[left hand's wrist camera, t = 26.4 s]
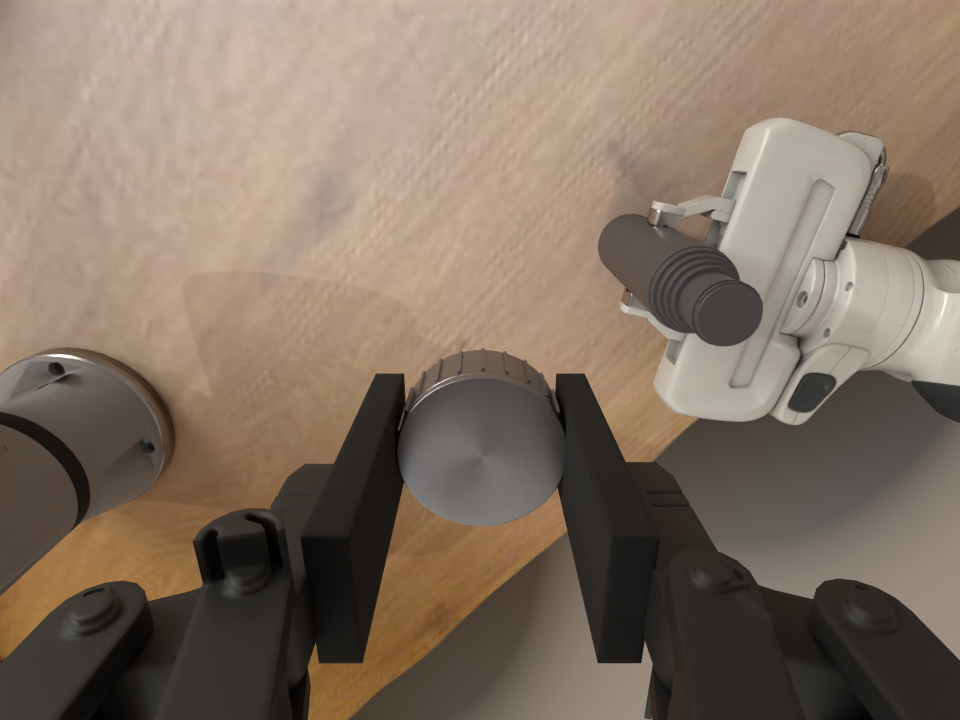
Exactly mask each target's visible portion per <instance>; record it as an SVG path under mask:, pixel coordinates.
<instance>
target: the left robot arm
mask: <svg viewBox="0 0 960 720" xmlns="http://www.w3.org/2000/svg"><path fill="white" fill-rule="evenodd" d="M555 395H556V398H557V401H558V405H559V408H560V411H561V415H560V417H561V420H562V424H563V427H564V430H565V434H566V438H565V454H564V469H563V477H562V479H561V481H560V483H559V485H558V486H557V487H558V491H559V496H560V500H561V504H562V509H563V513H564V517H565V522H566V526H567V531H568V535H569V539H570V544H571V548H572V552H573V557H574V561H575V565H576V570H577V574H578V579H579V583H580V587H581V592H582V596H583V600H584V605H585V609H586V613H587V618H588V622H589V627H590V631H591V635H592V640H593V644H594V648H595V653H596V657H597V661H598V663H641V661H642V654H643V648H644V641H645V642H646V645H647V648H648V651H649V654H650V657H651V660H652V663H653V667H652V673H651V679H650V685H649V691H648V697H647V703H646V710H645V717H644V718H646V719H651V717H652V720H960V660H959V659H958V658H957V657H956V656H955V655H954V654H953V653H952V652H951V651H950V650H949V649H948V648H947V647H946V646H945V645H944V644H943V643H942V642H941V641H940V640H939V639H938V638H937V637H936V636H935V635H934V634H933V633H932V631H931V630H930V629H929V628H928V627H927V626H926V625H925V624H924V623H923V622H922V621H921V620H920V619H919V618H918V617H917V616H916V615H915V614H914V613H913V612H912V611H911V610H910V609H908V608H907V607H906V606H905V605H904V604H902V603H901V602H900V601H899V600H897V599H896V598H895V597H893V596H891V595H889V594H887V593H886V592H884V591H882V590H880V589H878V588H876V587H873V586H870V585H867V584H865V583H862V582H859V581H855V580H846V579H833V580H829V581H824V582H823V583H822V584H821V585H820V586H819V587H818V588H817V589H816V592H815V595H814V599H809V598H805V597H801V596H796V595H792V594H788V593H784V592H780V591H775V590H772V589H769V588H766V587H763V586H760V585H758V584H757V582H756V581H755V579H754V578H753V576H752V574H751V573H750V571H749V570H748V569H746V568H745V567H744V566H743V565H742V564H740V563H739V562H738V561H737V560H735V559H733V558H731V557H729V556H727V555H725V554H723V553H721V552H718V551H717V549H716V548H715V546H714V544H713V543H712V541H711V539H710V537H709V536H708V534H707V533H706V531H705V529H704V527H703V526H702V524H701V522H700V521H699V519H698V517H697V516H696V514H695V512H694V510H693V509H692V507H690V505H689V502H688V500H687V499H686V497H685V495H684V494H682V490H681V488H680V487H679V485H678V483H677V482H676V480H675V478H674V477H673V475H671V474H670V473H669V472H668V471H666V470H665V469H664V468H662V467H661V466H660V465H658V464H657V463H656V462H625V460H624V458H623V456H622V453H621V451H620V449H619V447H618V445H617V443H616V441H615V438H614V436H613V434H612V432H611V430H610V428H609V426H608V423H607V421H606V419H605V417H604V415H603V413H602V411H601V408H600V406H599V404H598V402H597V400H596V398H595V395H594V393H593V391H592V389H591V387H590V385H589V383H588V380H587V378H586V376H585V374H556V389H555ZM404 406H406V401H405V383H404V374H376V375H375V377H374V379H373V381H372V383H371V386H370V388H369V390H368V392H367V394H366V396H365V398H364V401H363V403H362V405H361V407H360V409H359V411H358V413H357V416H356V418H355V420H354V422H353V424H352V426H351V428H350V431H349V433H348V435H347V437H346V439H345V441H344V444H343V446H342V448H341V450H340V452H339V454H338V456H337V459H336V461H335V463H334V464H304V465H303V466H302V467H300V468H299V469H298V470H296V471H295V472H294V473H293V474H291V475H290V476H289V477H288V478H287V479H286V481H285V483H284V484H283V486H282V488H281V490H280V491H279V495H278V496H276V498H275V500H274V501H273V503H272V505H271V509H269V510H267V509H244V510H239V511H235V512H231V513H228V514H226V515H224V516H222V517H219V518H217V519H215V520H213V521H212V522H211V523H209V524H208V525H207V526H205V527H204V528H203V529H201V530H200V532H199V533H198V535H197V536H196V537H195V539H194V540H193V544H194V548H195V552H196V556H197V561H198V565H199V569H200V573H201V577H202V581H203V586H202V587H201V588H198V589H195V590H192V591H189V592H185V593H181V594H177V595H173V596H169V597H164V598H160V599H156V600H152V601H148V600H147V597H146V594H145V591H144V590H143V589H142V588H141V587H140V586H139V585H138V584H137V583H132V582H127V581H116V582H107V583H103V584H100V585H97V586H94V587H91V588H88V589H85V590H83V591H82V592H80V593H78V594H76V595H74V596H72V597H71V598H69V599H67V600H65V601H64V602H63V603H62V604H60V605H59V606H58V607H57V608H56V609H54V610H53V611H52V612H51V613H50V614H49V615H48V616H47V617H46V618H45V619H44V620H43V621H42V622H41V623H40V624H39V625H38V626H37V627H36V628H35V629H34V630H33V631H32V632H31V633H30V634H29V635H28V636H27V637H26V638H25V639H24V640H23V641H22V642H21V643H20V645H19V646H18V647H17V648H16V649H15V650H14V651H13V652H12V653H11V654H10V655H9V656H8V657H7V658H6V659H5V660H4V661H3V662H2V663H1V664H0V720H308V710H309V699H310V688H311V686H310V679H309V673H308V664H309V661H310V658H311V655H312V652H313V649H314V646H315V643H316V646H317V652H318V659H319V663H363V659H364V654H365V650H366V646H367V641H368V637H369V632H370V628H371V624H372V619H373V615H374V611H375V606H376V602H377V597H378V593H379V589H380V584H381V580H382V576H383V571H384V567H385V563H386V558H387V554H388V549H389V545H390V541H391V536H392V532H393V528H394V523H395V519H396V514H397V510H398V506H399V501H400V497H401V493H402V488H403V484H404V481H403V479H402V477H401V474H400V471H399V468H398V463H397V454H396V448H397V439H398V435H399V433H398V432H397V429H398V426H399V423H400V419H401V416H402V413H403V409H404ZM173 450H174V432H173V427H172V423H171V420H170V417H169V415H168V412H167V410H166V408H165V406H164V405H163V403H162V401H161V400H160V398H159V397H158V395H157V394H156V393H155V391H154V390H153V389H152V388H151V387H150V386H149V385H148V384H147V383H146V382H145V381H144V380H143V379H142V378H141V377H140V376H139V375H137V374H136V373H135V372H134V371H132V370H131V369H129V368H128V367H126V366H125V365H123V364H121V363H120V362H118V361H116V360H114V359H112V358H110V357H107V356H105V355H102V354H99V353H96V352H93V351H89V350H84V349H78V348H56V349H50V350H46V351H42V352H39V353H37V354H34V355H32V356H30V357H28V358H26V359H23V360H21V361H19V362H17V363H15V364H13V365H12V366H10V367H9V368H7V369H6V370H5V371H4V372H3V373H2V374H1V375H0V596H1V595H2V594H3V593H4V592H5V591H6V590H8V589H9V588H10V587H11V586H12V585H13V584H14V583H15V582H16V581H17V580H18V579H20V578H21V577H22V576H23V575H24V574H25V573H26V572H27V571H28V570H29V569H30V568H32V567H33V566H34V565H35V564H36V563H37V562H38V561H39V560H40V559H41V558H42V557H44V556H45V555H46V554H47V553H48V552H49V551H50V550H51V549H52V548H53V547H55V546H56V545H57V544H58V543H59V542H60V541H61V540H62V539H63V538H64V537H65V536H66V535H67V534H68V533H70V532H71V531H72V530H73V529H74V528H75V527H76V526H77V525H79V524H80V523H81V522H83V521H85V520H87V519H90V518H92V517H94V516H96V515H99V514H101V513H103V512H105V511H108V510H110V509H112V508H114V507H117V506H119V505H121V504H123V503H126V502H128V501H131V500H133V499H135V498H137V497H138V496H140V495H141V494H143V493H144V492H145V491H146V490H148V489H149V488H150V487H151V486H152V485H153V484H154V483H155V482H156V481H157V480H158V479H159V478H160V477H161V476H162V474H163V473H164V472H165V471H166V469H167V467H168V466H169V463H170V461H171V458H172V455H173Z"/></svg>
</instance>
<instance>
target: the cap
mask: <svg viewBox="0 0 960 720" xmlns="http://www.w3.org/2000/svg"><path fill="white" fill-rule="evenodd" d="M560 415H561V411H560V408H559V405H558V401H557V398H556V395H555V392H554V389H552V390H551V389H550V387H549V385H548V383H547V382H546V381H545V379H544V376H543V374H542V373H540V374H539V373H538V372H537V371H536V370H535V369H534V368H533V367H531V366H530V365H529V364H527V361H526V360H523V361H522V360H520V359H519V358H516V357H514V356H511V355H509V354H507V352H505V351H504V352H503V353H502V352H497V351H490V350H485V349H484V348H482V349H481V350H475V351H466V352H462V351H459V353H458V354H455V355H452V356H450V357H447V358H445V359H443V360H442V359H439V361H438V363H437V364H435V365H434V366H432V367H431V368H430V369H429V370H428V371H427V372H425V371H424V372H423V373H422V375H421V378H420V379H419V380H418V382H417V383H416V385H415V387H414V388H412V387H411V389H410V392H409V396H408V399H407V402H406V406H404V409H403V413H402V416H401V419H400V423H399V426H398V429H397V432H398V433H399V435H398V439H397V448H396V454H397V463H398V468H399V471H400V474H401V477H402V479H403V481H404V483H405V485H406V486H407V488H408V489H409V491H410V492H411V494H412V495H413V496H414V497H415V498H416V499H417V500H418V501H419V502H420V503H421V504H422V505H423V506H425V507H426V508H427V509H428V510H430V511H432V512H433V513H435V514H436V515H439V516H441V517H443V518H445V519H447V520H450V521H453V522H457V523H461V524H466V525H474V526H490V525H498V524H503V523H508V522H511V521H514V520H517V519H519V518H521V517H523V516H526V515H528V514H529V513H531V512H532V511H534V510H536V509H537V508H538V507H539V506H541V505H542V504H543V503H544V502H545V501H546V500H547V499H548V498H549V497H550V496H551V495H552V494H553V492H554V491H555V490H556V488H557V486H558V485H559V483H560V481H561V479H562V477H563V469H564V454H565V438H566V434H565V430H564V427H563V424H562V420H561V417H560Z"/></svg>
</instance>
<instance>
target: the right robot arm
mask: <svg viewBox="0 0 960 720" xmlns="http://www.w3.org/2000/svg"><path fill="white" fill-rule="evenodd" d="M886 157H887V156H886V149H885V146H884V143H883V142H882V141H881V140H880V139H878V138H877V137H875V136H872V135H868V134H864V133H860V132H856V131H843V132H840V133H837V134H833V133H830V132H828V131H826V130H823V129H821V128H818V127H815V126H813V125H810V124H807V123H803V122H800V121H797V120H793V119H789V118H770V119H765V120H763V121H761V122H758V123H757V124H755V125H753V126H751V127H749V128H748V129H747V130H746V131H745V133H744V135H743V137H742V140H741V143H740V146H739V148H738V151H737V154H736V157H735V159H734V162H733V165H732V167H731V170H730V173H729V176H728V178H727V181H726V184H725V187H724V189H723V192H722V195H721V198H720V197H716V196H711V195H703V196H700V197H697V198H694V199H691V200H688V201H685V202H682V203H679V204H678V205H672V204H668V203H664V202H659V201H654V200H653V203H652V206H651V209H650V212H649V216H648V219H647V222H648V223H650V224H652V225H656V226H665V227H667V228H670V229H674V230H678V229H679V226H680V224H681V221H682V218H686V217H690V216H693V215H696V214H700V215H701V216H704V217H707V218H711V219H713V220H712V222H711V225H710V228H709V231H708V233H707V236H706V239H705V242H704V244H706V245H709V246H711V247H713V248H715V249H717V250H719V251H721V252H722V253H724V254H725V255H726V256H727V257H728V258H729V259H730V260H731V261H732V262H733V264H734V265H735V267H736V269H737V271H738V273H739V277H740V281H743V282H744V283H746V284H748V285H750V286H751V287H753V288H755V290H756V291H757V292H758V293H759V295H760V297H761V300H762V302H763V315H762V319H761V322H760V325H759V326H758V328H757V330H756V331H755V332H754V333H753V334H752V335H751V336H750V337H749V338H748V339H746V340H745V341H743V342H741V343H739V344H737V345H733V346H726V347H722V346H715V345H711V344H708V343H706V342H705V341H703V340H701V339H700V338H699V337H698V336H697V334H687V333H680V332H677V331H674V330H672V329H669V328H667V327H665V326H664V325H662V324H661V323H660V322H659V321H658V320H657V319H656V318H655V317H654V316H653V315H652V314H651V313H650V312H649V311H648V310H647V309H646V308H645V307H644V306H643V305H642V304H641V303H640V302H639V301H638V300H637V298H636V297H635V296H634V295H633V294H632V293H631V292H630V291H629V290H628V289H627V288H625V291H624V294H623V297H622V300H621V302H620V306H619V308H620V309H621V310H622V312H625V313H627V314H630V315H635V316H640V317H644V318H646V319H647V320H648V321H649V322H650V323H651V324H652V325H653V326H654V327H655V328H657V329H658V330H659V331H660V332H661V333H662V334H663V335H664V336H665V337H666V338H667V339H669V340H668V343H667V346H666V349H665V351H664V354H663V357H662V360H661V362H660V365H659V368H658V370H657V373H656V376H655V379H654V382H653V385H654V388H655V390H656V392H657V393H658V395H659V397H660V398H661V400H662V401H663V402H664V404H665V405H666V406H667V407H668V408H669V409H670V410H672V411H673V412H675V413H678V414H682V415H687V416H692V417H698V418H705V419H712V420H722V421H735V422H744V421H751V420H755V419H758V418H761V417H763V416H764V415H766V414H767V413H769V414H771V415H772V416H773V417H775V418H776V419H778V420H780V421H781V422H783V423H787V424H791V425H799V424H802V423H804V422H805V421H807V420H808V419H809V418H810V417H811V416H812V415H813V414H814V413H815V411H816V410H817V409H818V408H819V407H820V406H821V405H822V404H823V403H824V402H825V400H827V398H828V397H829V396H830V395H831V394H832V393H833V392H834V391H835V390H836V389H837V388H838V387H839V386H840V385H842V384H843V383H844V382H845V381H846V380H847V379H848V378H849V377H850V376H852V375H853V374H854V373H855V372H857V371H867V370H881V371H884V372H886V373H887V374H889V375H891V376H893V377H895V378H897V379H899V380H902V381H906V382H910V383H912V384H913V386H914V387H915V389H916V390H917V391H918V393H919V394H920V395H921V396H922V397H923V398H924V399H925V400H926V401H927V402H928V403H929V404H930V405H931V406H932V407H933V408H934V409H935V410H936V411H937V412H938V413H940V414H941V415H943V416H945V417H947V418H949V419H952V420H954V421H956V422H959V423H960V261H957V260H948V259H940V260H926V259H923V258H922V257H920V256H919V255H917V254H916V253H914V252H912V251H910V250H907V249H904V248H901V247H897V246H893V245H888V244H884V243H879V242H875V241H871V240H866V239H861V238H860V237H859V236H860V234H861V232H862V230H863V227H864V225H865V223H866V221H867V219H868V217H869V214H870V212H871V208H872V206H873V205H872V204H873V203H874V199H875V198H876V195H877V193H878V191H879V189H880V188H882V186H883V185H884V183H885V180H886V178H887V175H888V172H889V167H888V166H885V163H886ZM877 161H878V165H877V164H876V163H877Z"/></svg>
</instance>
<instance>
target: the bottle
mask: <svg viewBox="0 0 960 720" xmlns="http://www.w3.org/2000/svg"><path fill="white" fill-rule="evenodd" d="M647 219H648V218H646V217H643V216H641V215H637V214H627V215H622V216H620V217H617V218H616V219H614V220H612V221H611V222H610V223H609V224H608V225H607V226H606V227H605V229H604V230H603V232H602V234H601V236H600V239H599V244H598V251H599V256H600V258H601V261H602V262H603V264H604V265H605V266H606V267H607V268H608V269H609V270H610V271H611V273H612V274H613V275H614V276H615V277H616V278H617V279H618V280H619V281H620V282H621V283H622V284H623V285H624V286H625V287H626V288H627V289H628V290H629V291H630V292H631V293H632V294H633V295H634V296H635V297H636V298H637V300H638V301H639V302H640V303H641V304H642V305H643V306H644V307H645V308H646V309H647V310H648V311H649V312H650V313H651V314H652V315H653V316H654V317H655V318H656V319H657V320H658V321H659V322H660V323H661V324H662V325H664V326H665V327H667V328H669V329H672V330H674V331H677V332H680V333H687V334H697V336H698V337H699V338H700V339H701V340H703V341H705V342H706V343H708V344H711V345H715V346H722V347H726V346H733V345H737V344H739V343H741V342H743V341H745V340H746V339H748V338H749V337H750V336H751V335H752V334H753V333H754V332H755V331H756V330H757V328H758V326H759V325H760V322H761V319H762V315H763V302H762V300H761V297H760V295H759V293H758V292H757V291H756V290H755V288H753V287H751V286H750V285H748V284H746V283H744V282H743V281H740V277H739V273H738V271H737V269H736V267H735V265H734V264H733V262H732V261H731V260H730V259H729V258H728V257H727V256H726V255H725V254H724V253H722V252H721V251H719V250H717V249H715V248H713V247H711V246H709V245H706V244H704V243H702V242H700V241H697V240H695V239H693V238H691V237H688V236H686V235H684V234H682V233H679V232H677V231H675V230H673V229H670V228H667V227H665V226H656V225H652V224H650V223H648V222H647Z"/></svg>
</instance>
